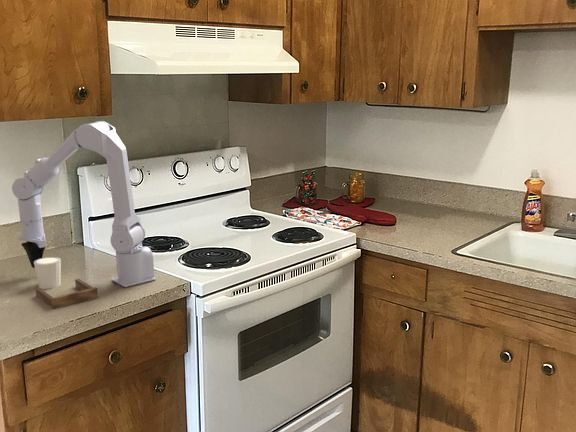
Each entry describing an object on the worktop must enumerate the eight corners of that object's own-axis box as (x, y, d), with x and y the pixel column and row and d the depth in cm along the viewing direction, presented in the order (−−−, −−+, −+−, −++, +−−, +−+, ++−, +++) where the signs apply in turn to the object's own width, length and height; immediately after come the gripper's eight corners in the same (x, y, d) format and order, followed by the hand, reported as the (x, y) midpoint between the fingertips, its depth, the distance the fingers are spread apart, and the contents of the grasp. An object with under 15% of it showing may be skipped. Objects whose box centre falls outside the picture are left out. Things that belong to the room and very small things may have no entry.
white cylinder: (40, 291, 165) (37, 266, 163) (33, 284, 170) (30, 259, 169) (66, 285, 169) (64, 261, 167) (58, 279, 174) (56, 255, 173)
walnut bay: (79, 285, 169) (78, 276, 168) (98, 297, 160) (97, 288, 159) (36, 296, 161) (35, 286, 161) (53, 308, 153) (52, 299, 152)
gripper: (7, 217, 175) (13, 263, 178) (25, 227, 164) (31, 276, 168) (33, 213, 180) (38, 258, 183) (52, 222, 169) (57, 270, 172)
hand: (36, 266), depth 176 cm, fingers closed
